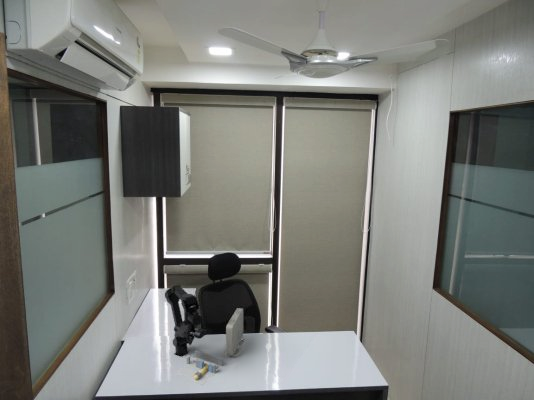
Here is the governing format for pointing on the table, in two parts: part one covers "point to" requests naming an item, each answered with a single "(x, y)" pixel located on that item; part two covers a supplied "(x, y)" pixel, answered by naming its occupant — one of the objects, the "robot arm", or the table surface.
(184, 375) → the pipe mounting panel
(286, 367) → the table surface
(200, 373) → the yellow capsule with collar
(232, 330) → the network device
